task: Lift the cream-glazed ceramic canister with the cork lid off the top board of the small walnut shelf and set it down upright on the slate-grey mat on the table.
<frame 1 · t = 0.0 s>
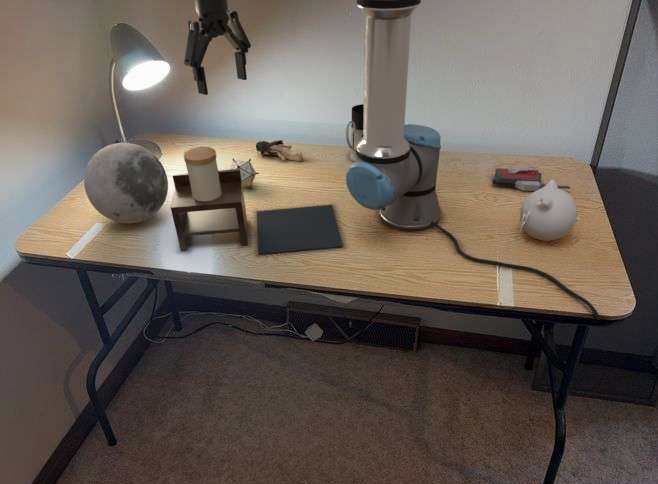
hand: (223, 86, 138), 28 cm above the table, tool pointing down, fingers open, 13 cm apart
glass holder: (359, 160, 165), on the table
moon model: (137, 218, 142), on the table
shelf: (215, 236, 134), on the table
toy figure: (280, 157, 169), on the table
mat: (297, 229, 135), on the table
canister: (207, 194, 126), point 12 cm above the table, touching shelf
spiked polyhedron: (244, 187, 154), on the table
grey round piece: (543, 237, 128), on the table
walkie-talkie: (528, 185, 149), on the table
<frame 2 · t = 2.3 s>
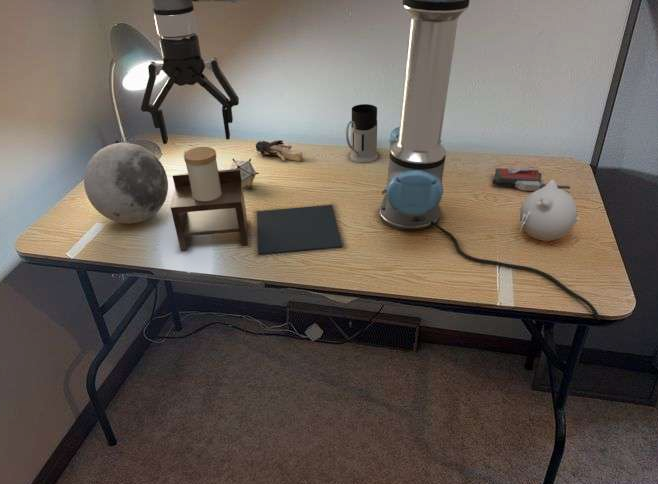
hand: (197, 139, 118), 25 cm above the table, tool pointing down, fingers open, 13 cm apart
nothing on the table moved.
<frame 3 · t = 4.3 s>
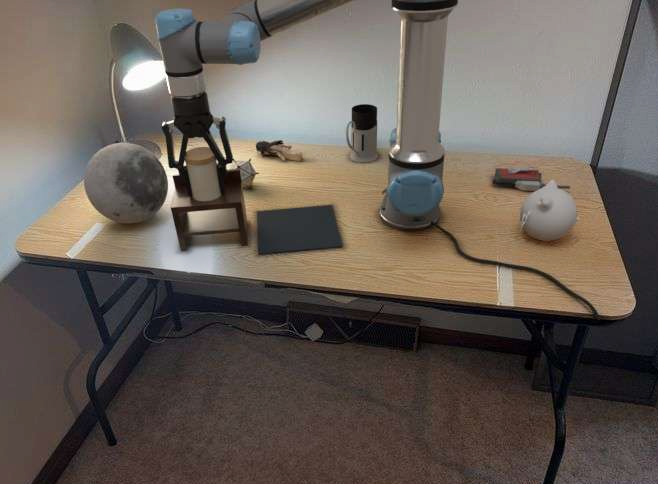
hand: (206, 192, 126), 13 cm above the table, tool pointing down, fingers closed on canister, 7 cm apart
canister: (207, 194, 126), point 12 cm above the table, touching gripper, shelf
everything else where it was.
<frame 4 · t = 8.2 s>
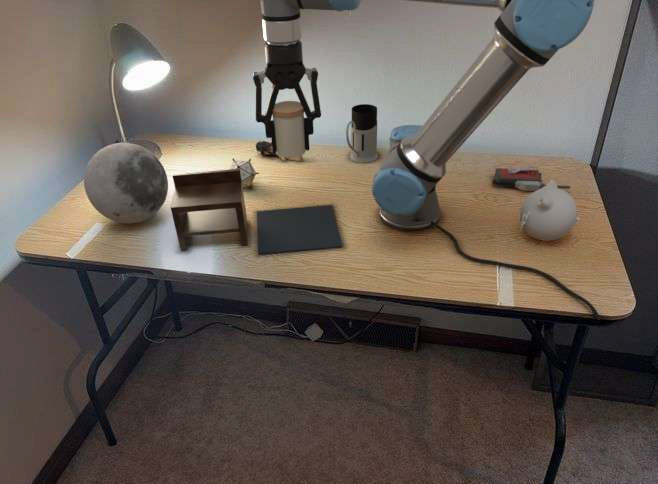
hand: (290, 149, 122), 21 cm above the table, tool pointing down, fingers closed on canister, 7 cm apart
canister: (290, 151, 122), point 21 cm above the table, touching gripper
everything else where it was.
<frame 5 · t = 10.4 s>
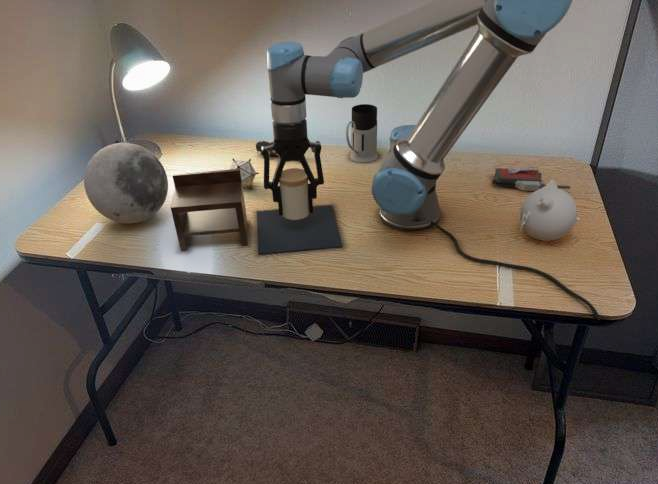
hand: (295, 211, 132), 5 cm above the table, tool pointing down, fingers closed on canister, 7 cm apart
canister: (295, 212, 132), point 5 cm above the table, touching gripper
everything else where it was.
when the fingers open (1 cm above the table, at t = 12.0 s): canister stays where it is, resting on mat.
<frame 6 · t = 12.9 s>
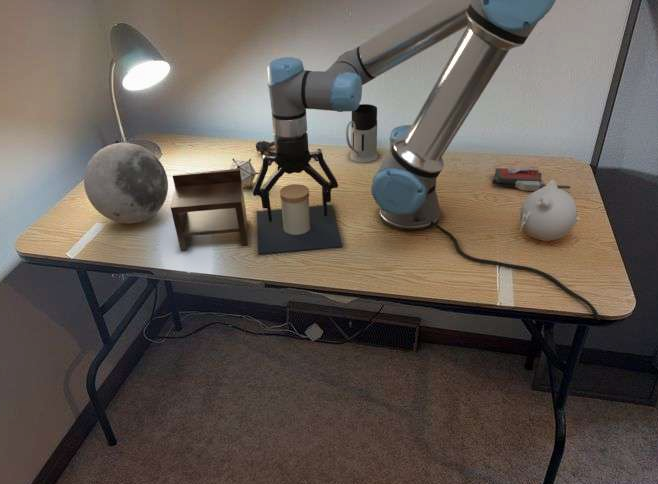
hand: (297, 216, 133), 4 cm above the table, tool pointing down, fingers open, 13 cm apart
canister: (296, 227, 135), resting on mat
everything else where it was.
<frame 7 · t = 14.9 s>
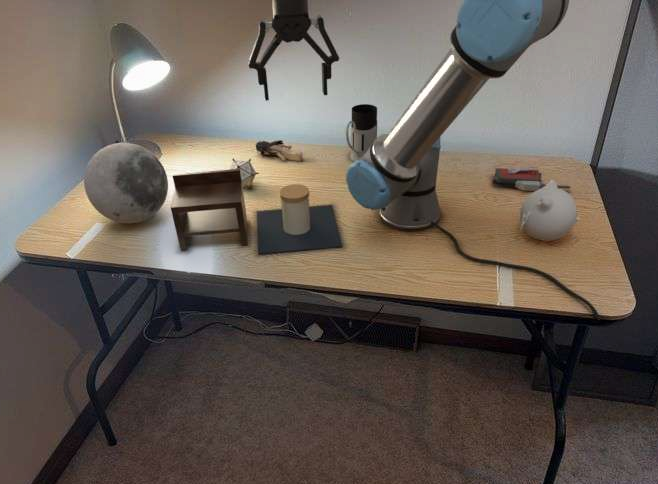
hand: (296, 96, 125), 30 cm above the table, tool pointing down, fingers open, 13 cm apart
nothing on the table moved.
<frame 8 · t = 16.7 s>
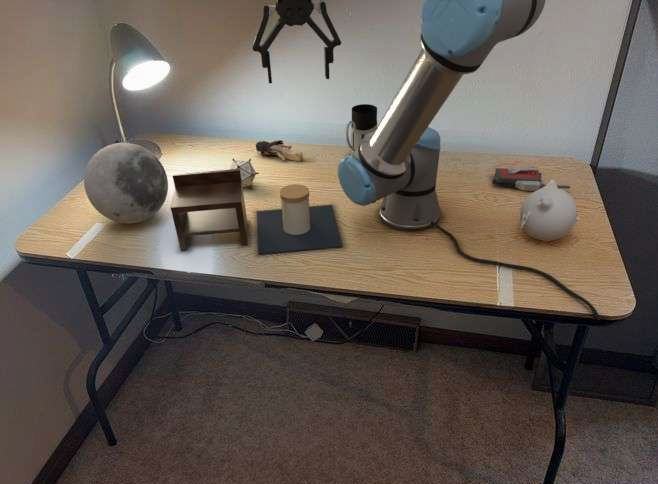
hand: (298, 79, 128), 32 cm above the table, tool pointing down, fingers open, 13 cm apart
nothing on the table moved.
at the end: canister inside the target area on the mat (0.1 cm from its centre), point 0.4 cm above the mat's base; canister tilted 0°; the gripper is holding nothing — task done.
